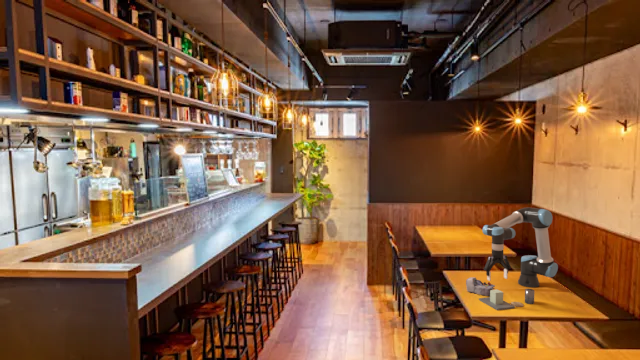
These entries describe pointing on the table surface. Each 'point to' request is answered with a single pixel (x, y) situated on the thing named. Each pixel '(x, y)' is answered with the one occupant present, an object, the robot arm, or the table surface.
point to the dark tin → (529, 296)
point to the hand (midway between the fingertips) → (497, 279)
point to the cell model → (478, 286)
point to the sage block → (496, 296)
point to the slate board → (497, 306)
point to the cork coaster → (517, 304)
